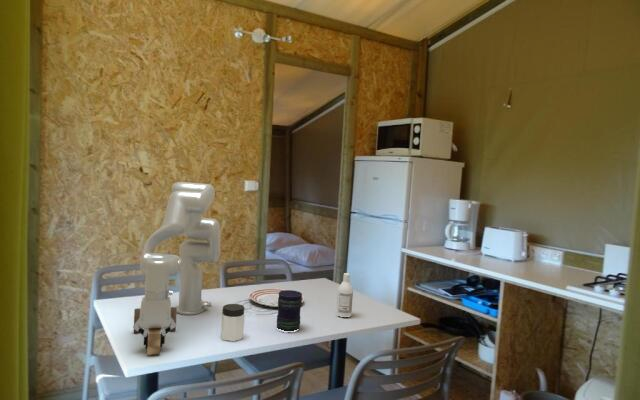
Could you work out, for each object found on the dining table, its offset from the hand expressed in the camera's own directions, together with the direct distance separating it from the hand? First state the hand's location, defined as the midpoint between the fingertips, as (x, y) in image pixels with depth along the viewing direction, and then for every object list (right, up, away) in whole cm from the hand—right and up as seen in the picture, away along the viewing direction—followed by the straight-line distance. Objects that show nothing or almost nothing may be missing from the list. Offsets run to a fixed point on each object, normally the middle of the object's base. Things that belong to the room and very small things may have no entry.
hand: (154, 345), depth 152 cm
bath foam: (+68, -4, +52) cm, 86 cm away
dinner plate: (+36, -1, +67) cm, 76 cm away
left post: (-12, 0, +15) cm, 19 cm away
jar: (+24, -3, +17) cm, 29 cm away
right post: (0, -1, +19) cm, 19 cm away
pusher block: (0, -1, 0) cm, 1 cm away
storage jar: (+44, -3, +31) cm, 54 cm away
